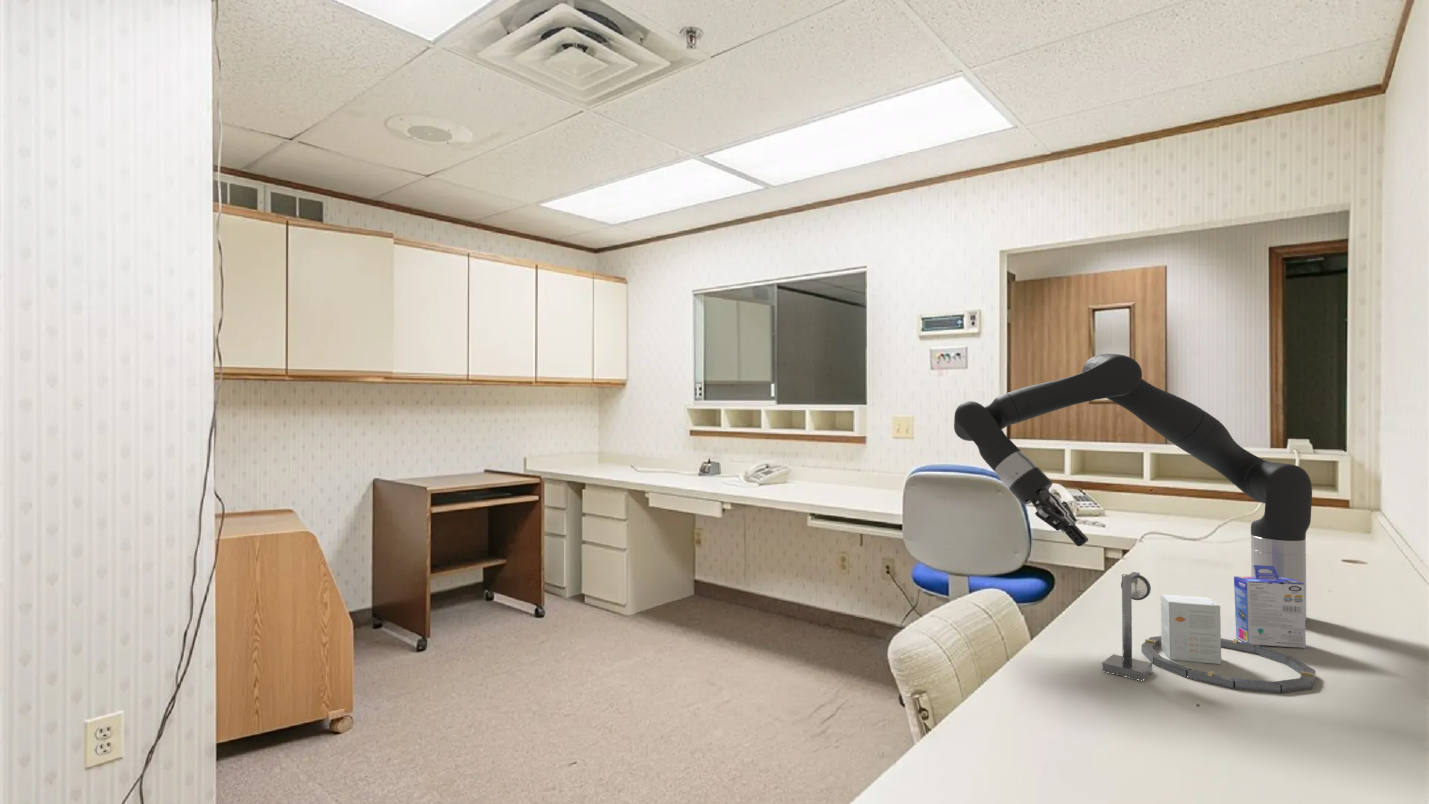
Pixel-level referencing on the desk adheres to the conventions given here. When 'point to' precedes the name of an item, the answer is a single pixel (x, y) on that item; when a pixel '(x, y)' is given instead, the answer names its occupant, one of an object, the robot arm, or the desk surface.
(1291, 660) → the ring
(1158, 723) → the desk surface
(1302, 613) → the ink cartridge box
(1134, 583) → the dial gauge stand
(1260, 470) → the robot arm
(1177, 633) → the small box
